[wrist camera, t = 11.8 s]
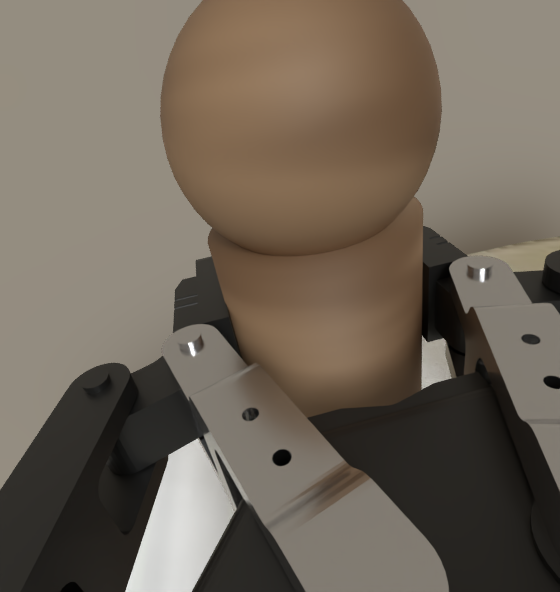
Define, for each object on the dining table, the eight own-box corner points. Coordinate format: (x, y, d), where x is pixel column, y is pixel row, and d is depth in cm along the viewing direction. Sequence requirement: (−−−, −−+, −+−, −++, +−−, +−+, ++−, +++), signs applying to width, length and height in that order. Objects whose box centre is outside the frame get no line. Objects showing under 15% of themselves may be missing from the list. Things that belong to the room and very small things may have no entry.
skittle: (301, 429, 18) (208, -7, 10) (433, 451, 17) (449, -67, 8) (255, 557, 14) (38, -7, 6) (424, 605, 12) (442, -126, 4)
